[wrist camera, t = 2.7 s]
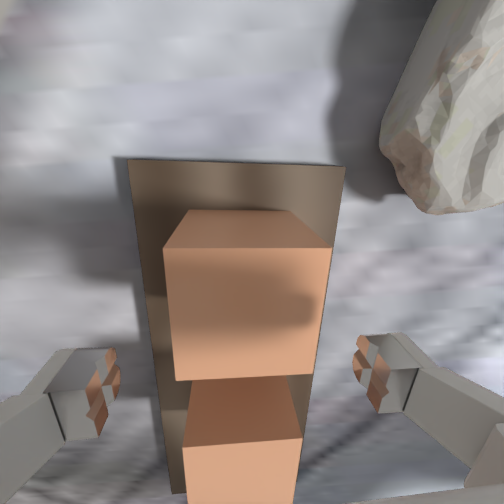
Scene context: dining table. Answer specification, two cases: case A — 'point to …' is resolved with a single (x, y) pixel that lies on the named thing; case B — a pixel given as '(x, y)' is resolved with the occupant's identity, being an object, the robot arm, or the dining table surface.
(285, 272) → the peach block
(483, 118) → the stone
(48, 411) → the robot arm
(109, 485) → the dining table surface
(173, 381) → the board
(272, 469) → the wooden block
